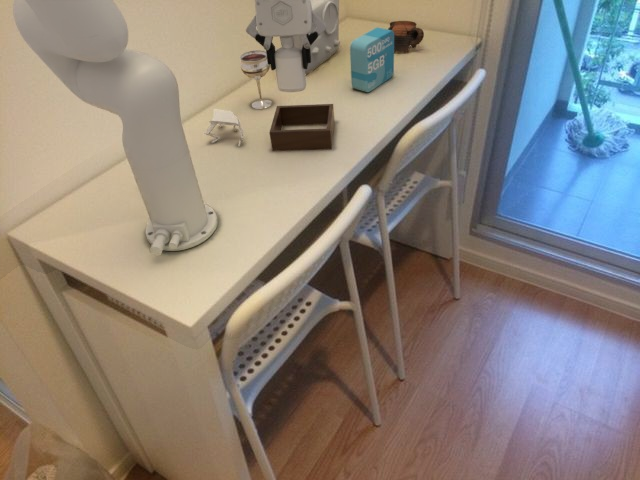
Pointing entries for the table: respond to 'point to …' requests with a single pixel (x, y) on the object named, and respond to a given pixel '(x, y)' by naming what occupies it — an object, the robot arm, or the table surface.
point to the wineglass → (256, 72)
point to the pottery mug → (405, 35)
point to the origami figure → (224, 122)
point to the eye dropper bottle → (289, 66)
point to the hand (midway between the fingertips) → (289, 66)
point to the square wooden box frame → (302, 137)
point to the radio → (323, 33)
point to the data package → (372, 59)
